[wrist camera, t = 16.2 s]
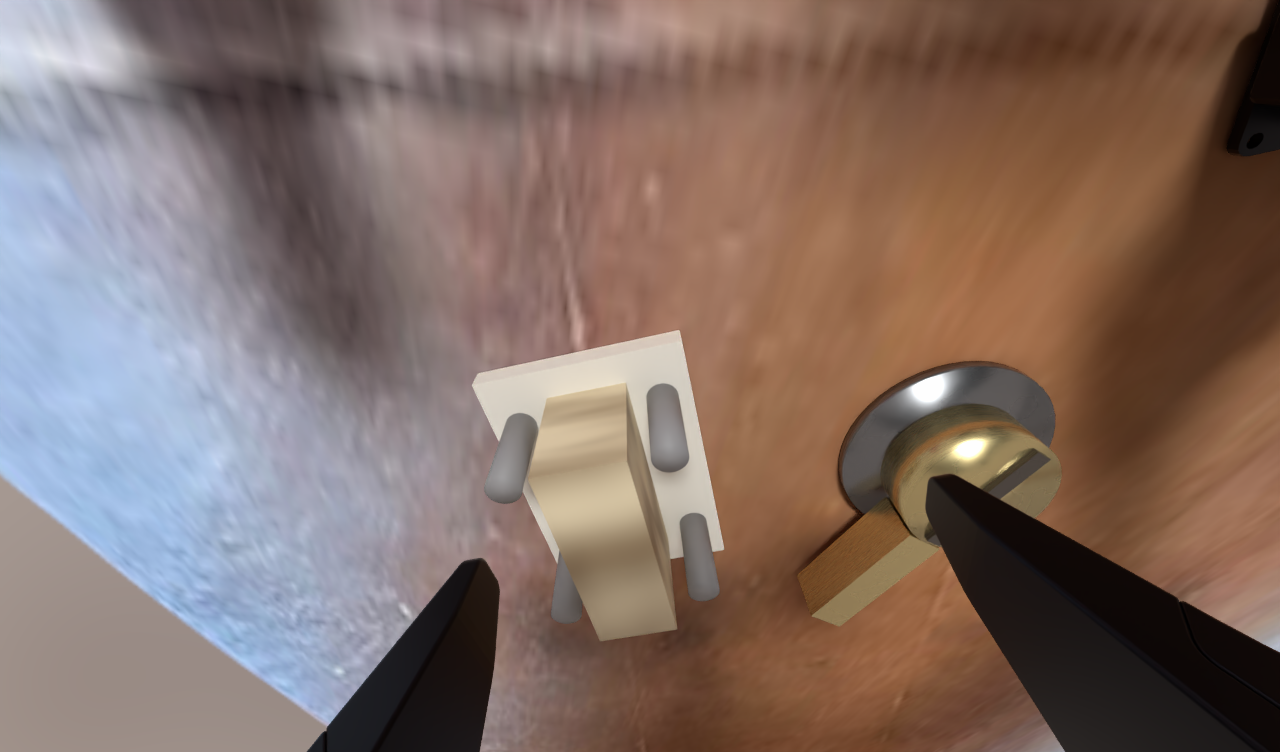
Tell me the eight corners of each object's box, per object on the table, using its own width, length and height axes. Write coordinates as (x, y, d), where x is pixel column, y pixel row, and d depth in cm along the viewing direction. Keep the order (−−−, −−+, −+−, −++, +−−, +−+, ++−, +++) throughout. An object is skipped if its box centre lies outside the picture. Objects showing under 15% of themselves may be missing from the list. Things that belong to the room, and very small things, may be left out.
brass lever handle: (956, 381, 22) (998, 419, 19) (1051, 439, 24) (1099, 480, 21) (765, 562, 28) (778, 608, 25) (852, 597, 29) (873, 643, 27)
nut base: (1066, 340, 22) (1077, 346, 21) (1025, 500, 27) (1033, 508, 26) (836, 386, 23) (841, 393, 22) (839, 532, 28) (843, 541, 27)
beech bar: (668, 539, 26) (677, 629, 22) (603, 550, 26) (600, 641, 22) (626, 382, 21) (626, 460, 17) (546, 398, 21) (527, 479, 17)
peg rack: (477, 373, 22) (442, 446, 17) (679, 329, 21) (693, 395, 17) (565, 562, 28) (555, 648, 24) (721, 535, 28) (739, 619, 23)
